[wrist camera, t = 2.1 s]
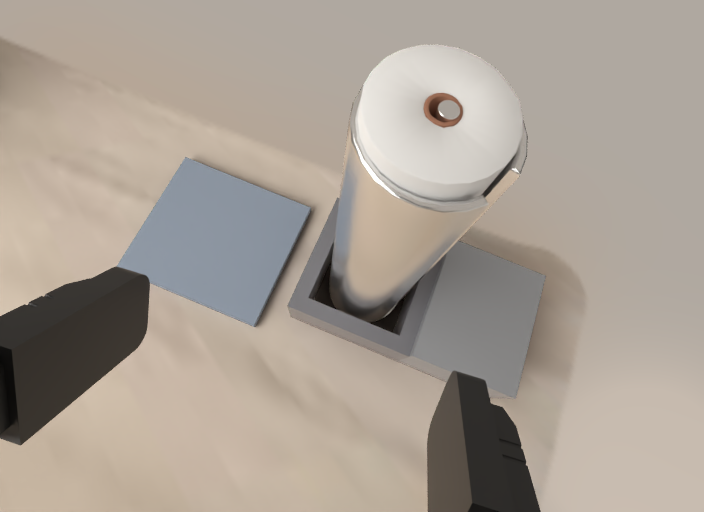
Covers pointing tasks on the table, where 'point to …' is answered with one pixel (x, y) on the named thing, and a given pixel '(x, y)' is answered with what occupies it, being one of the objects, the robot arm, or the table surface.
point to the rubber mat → (217, 241)
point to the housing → (441, 315)
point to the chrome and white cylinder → (419, 170)
